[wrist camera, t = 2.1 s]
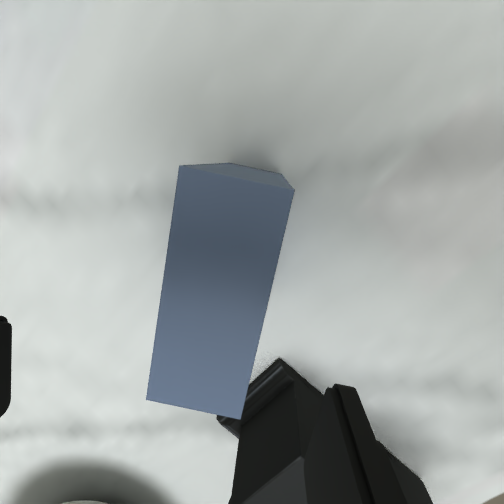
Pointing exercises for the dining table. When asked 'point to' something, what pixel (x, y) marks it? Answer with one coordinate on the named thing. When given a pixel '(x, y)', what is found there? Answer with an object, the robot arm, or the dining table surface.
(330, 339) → the dining table surface
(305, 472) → the robot arm
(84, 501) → the soup bowl
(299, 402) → the black drawer cabinet
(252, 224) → the book
